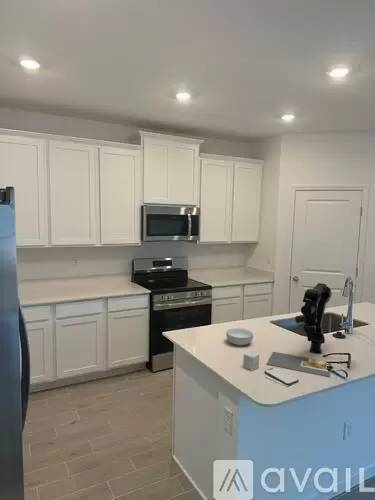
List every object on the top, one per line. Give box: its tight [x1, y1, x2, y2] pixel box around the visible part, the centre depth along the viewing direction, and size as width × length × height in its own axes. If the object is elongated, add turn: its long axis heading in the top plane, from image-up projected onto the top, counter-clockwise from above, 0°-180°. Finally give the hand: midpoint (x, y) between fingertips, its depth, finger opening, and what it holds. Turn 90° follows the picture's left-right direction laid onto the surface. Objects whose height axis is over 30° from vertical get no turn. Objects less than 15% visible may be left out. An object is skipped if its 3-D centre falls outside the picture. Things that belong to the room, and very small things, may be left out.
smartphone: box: [264, 367, 299, 387], centre depth 172 cm, size 9×2×16 cm
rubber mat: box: [266, 351, 332, 378], centre depth 188 cm, size 19×32×1 cm, turn 66°
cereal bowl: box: [225, 327, 254, 346], centre depth 216 cm, size 17×17×7 cm
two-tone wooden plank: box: [303, 356, 327, 370], centre depth 185 cm, size 12×5×3 cm, turn 66°
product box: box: [242, 351, 260, 371], centre depth 182 cm, size 6×6×7 cm
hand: (309, 338), depth 194 cm, fingers open, 9 cm apart
